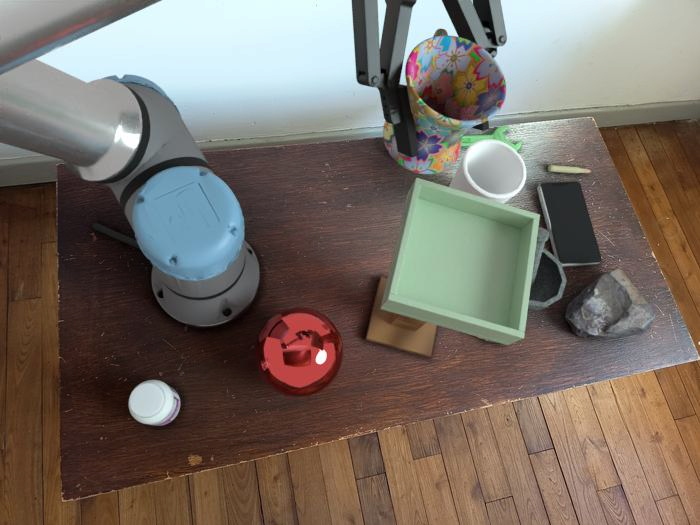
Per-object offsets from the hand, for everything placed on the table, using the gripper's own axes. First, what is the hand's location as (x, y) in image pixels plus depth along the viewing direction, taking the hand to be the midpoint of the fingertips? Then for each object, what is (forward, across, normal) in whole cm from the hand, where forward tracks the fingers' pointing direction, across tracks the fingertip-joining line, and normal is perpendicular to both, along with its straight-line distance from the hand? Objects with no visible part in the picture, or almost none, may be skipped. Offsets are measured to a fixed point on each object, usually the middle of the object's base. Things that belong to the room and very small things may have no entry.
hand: (443, 139), depth 53 cm
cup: (+23, -19, -26) cm, 39 cm away
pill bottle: (+30, +37, -20) cm, 51 cm away
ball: (+31, +18, -18) cm, 40 cm away
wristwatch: (+37, -11, -11) cm, 41 cm away
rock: (+43, -30, -6) cm, 53 cm away
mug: (0, 0, -5) cm, 5 cm away
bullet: (+22, -37, -25) cm, 50 cm away
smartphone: (+30, -34, -18) cm, 48 cm away
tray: (+15, 0, 0) cm, 15 cm away
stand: (+32, 0, -17) cm, 36 cm away
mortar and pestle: (+34, -19, -15) cm, 41 cm away
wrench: (+12, -24, -35) cm, 44 cm away
